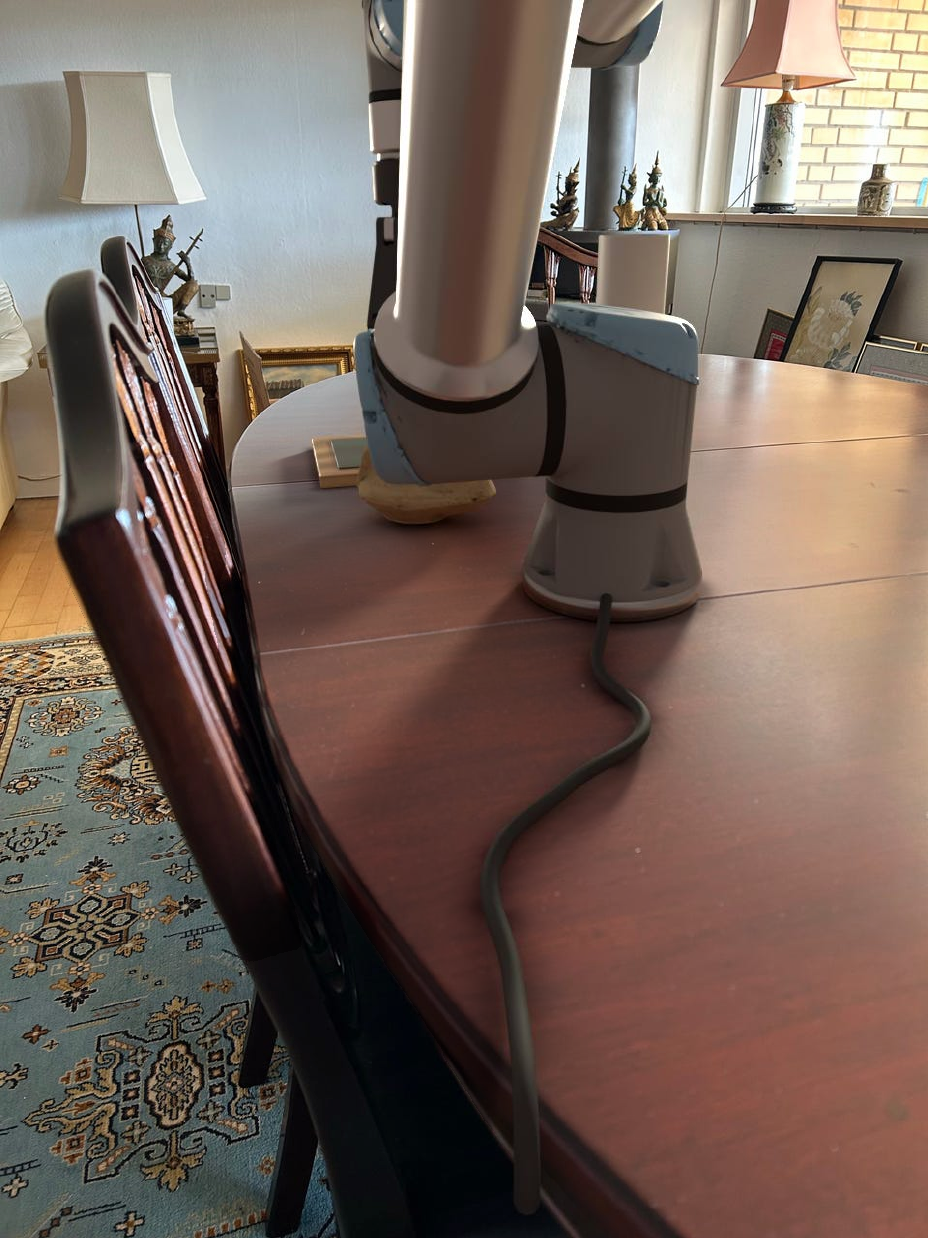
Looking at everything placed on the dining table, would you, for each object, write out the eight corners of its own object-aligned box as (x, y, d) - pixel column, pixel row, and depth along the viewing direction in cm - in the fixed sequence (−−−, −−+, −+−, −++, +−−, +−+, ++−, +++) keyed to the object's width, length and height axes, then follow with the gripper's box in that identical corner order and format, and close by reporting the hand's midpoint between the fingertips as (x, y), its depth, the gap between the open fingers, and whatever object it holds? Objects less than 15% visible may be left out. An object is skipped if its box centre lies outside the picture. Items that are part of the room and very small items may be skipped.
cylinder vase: (582, 375, 173) (587, 235, 163) (640, 370, 177) (649, 233, 166) (611, 386, 162) (618, 237, 152) (672, 381, 166) (683, 234, 155)
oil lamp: (494, 535, 91) (494, 458, 87) (348, 534, 92) (342, 458, 88) (498, 502, 101) (497, 432, 97) (366, 502, 102) (361, 432, 98)
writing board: (451, 478, 110) (451, 465, 109) (320, 488, 107) (319, 474, 106) (425, 440, 128) (424, 429, 127) (312, 448, 125) (311, 436, 124)
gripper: (402, 150, 70) (413, 421, 79) (489, 160, 91) (490, 372, 100) (315, 153, 72) (336, 417, 81) (420, 162, 93) (428, 370, 102)
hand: (421, 392), depth 91 cm, fingers open, 13 cm apart
